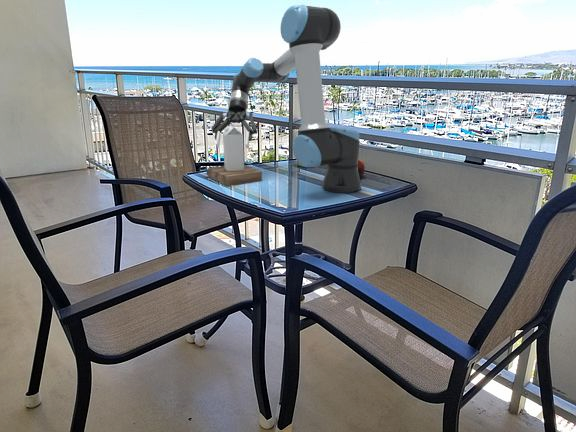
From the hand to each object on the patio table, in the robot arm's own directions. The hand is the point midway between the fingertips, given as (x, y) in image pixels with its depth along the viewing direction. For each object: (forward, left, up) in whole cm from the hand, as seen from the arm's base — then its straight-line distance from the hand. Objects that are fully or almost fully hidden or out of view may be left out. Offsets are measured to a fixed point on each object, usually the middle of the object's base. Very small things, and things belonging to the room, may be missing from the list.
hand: (232, 146), depth 169 cm
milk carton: (+2, -2, -10) cm, 11 cm away
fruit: (-24, -46, -15) cm, 54 cm away
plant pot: (+6, -42, -15) cm, 45 cm away
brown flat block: (+2, -2, -14) cm, 15 cm away
